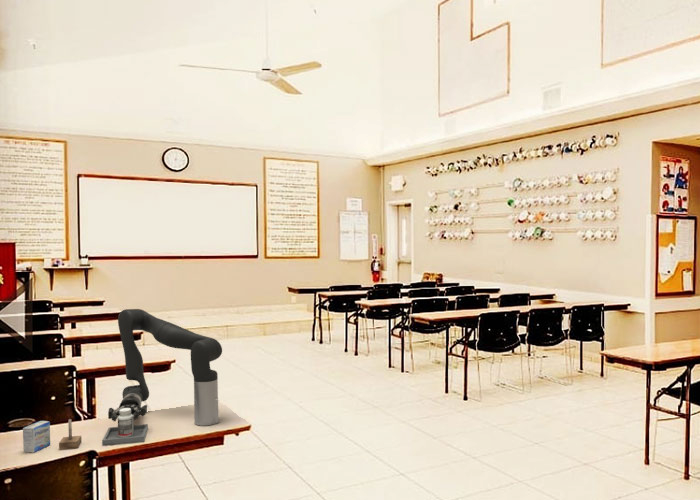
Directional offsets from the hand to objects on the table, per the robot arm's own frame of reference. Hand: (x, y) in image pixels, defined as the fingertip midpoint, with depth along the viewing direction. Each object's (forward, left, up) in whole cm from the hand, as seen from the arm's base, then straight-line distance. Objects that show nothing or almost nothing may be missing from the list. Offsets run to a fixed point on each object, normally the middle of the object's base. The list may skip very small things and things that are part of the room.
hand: (124, 417), depth 203 cm
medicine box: (+29, +1, -8) cm, 30 cm away
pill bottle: (0, -3, -8) cm, 8 cm away
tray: (0, -2, -8) cm, 8 cm away
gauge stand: (+18, +2, -8) cm, 20 cm away
